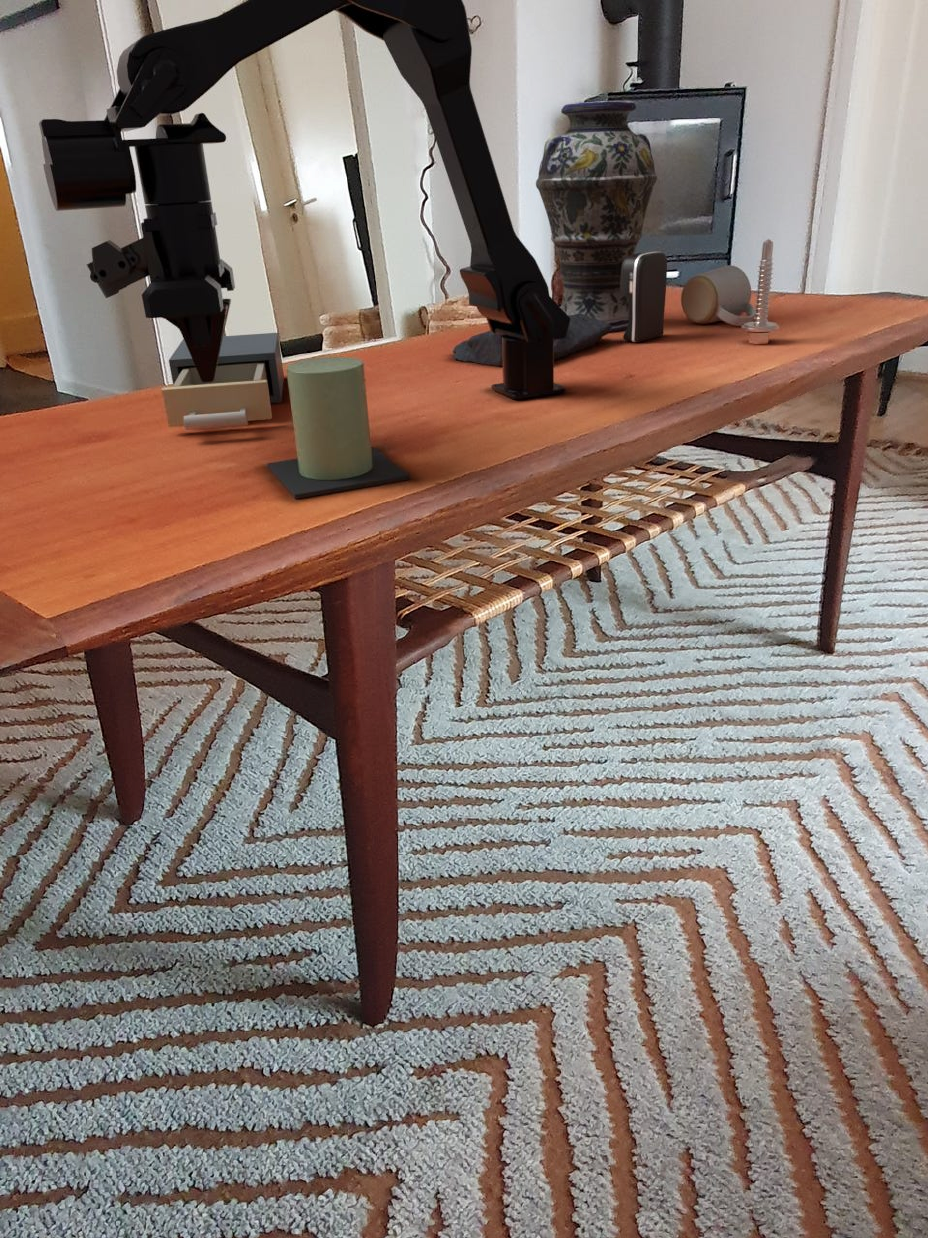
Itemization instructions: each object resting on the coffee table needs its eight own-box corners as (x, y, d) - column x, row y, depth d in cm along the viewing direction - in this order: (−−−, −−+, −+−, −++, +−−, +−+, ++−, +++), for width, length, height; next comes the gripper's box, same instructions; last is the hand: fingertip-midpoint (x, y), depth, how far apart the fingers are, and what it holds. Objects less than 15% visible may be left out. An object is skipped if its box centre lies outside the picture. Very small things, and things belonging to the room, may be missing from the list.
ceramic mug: (675, 322, 143) (678, 268, 139) (709, 315, 147) (714, 263, 143) (732, 330, 135) (737, 274, 132) (766, 323, 140) (772, 268, 136)
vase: (519, 324, 147) (516, 108, 134) (616, 313, 153) (622, 104, 139) (566, 340, 133) (567, 100, 120) (671, 328, 139) (683, 96, 125)
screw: (738, 345, 125) (742, 338, 129) (776, 346, 123) (778, 339, 127) (747, 240, 119) (750, 237, 123) (787, 240, 117) (789, 236, 121)
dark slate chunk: (630, 343, 130) (631, 307, 127) (526, 371, 116) (526, 331, 114) (545, 333, 139) (545, 299, 137) (440, 358, 126) (438, 321, 123)
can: (383, 459, 83) (374, 357, 79) (355, 482, 78) (345, 373, 74) (318, 456, 85) (306, 356, 81) (286, 478, 80) (272, 371, 76)
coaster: (410, 479, 79) (409, 474, 79) (295, 499, 76) (294, 494, 76) (372, 450, 88) (372, 446, 87) (267, 467, 84) (267, 463, 84)
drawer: (270, 428, 93) (265, 390, 91) (163, 437, 92) (155, 398, 90) (275, 392, 107) (270, 358, 106) (183, 399, 106) (177, 365, 105)
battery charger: (642, 333, 136) (645, 249, 131) (665, 335, 133) (669, 250, 128) (614, 341, 131) (616, 254, 126) (637, 343, 129) (640, 255, 124)
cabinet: (281, 402, 107) (274, 352, 104) (177, 410, 105) (168, 359, 103) (284, 377, 119) (278, 332, 116) (190, 384, 117) (183, 338, 115)
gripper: (104, 203, 90) (137, 368, 97) (58, 213, 73) (102, 411, 80) (222, 197, 91) (246, 360, 98) (203, 205, 74) (234, 401, 81)
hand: (208, 381), depth 89 cm, fingers closed
